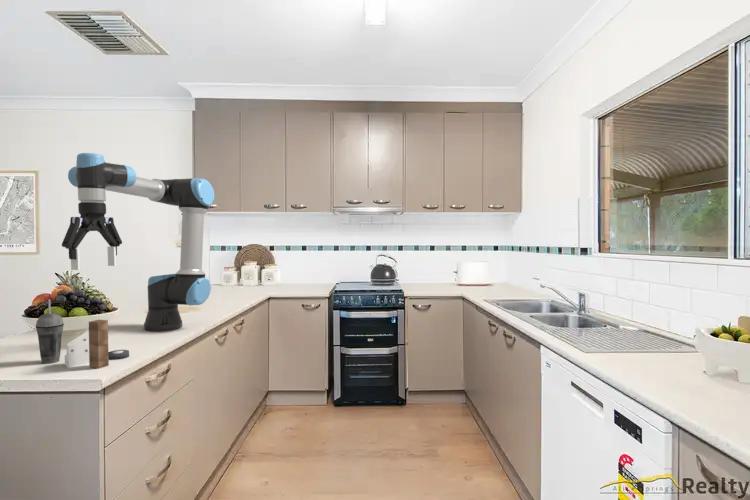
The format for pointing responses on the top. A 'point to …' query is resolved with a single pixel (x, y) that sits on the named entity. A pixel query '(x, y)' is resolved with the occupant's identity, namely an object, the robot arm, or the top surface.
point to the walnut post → (98, 344)
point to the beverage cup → (49, 336)
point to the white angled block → (78, 351)
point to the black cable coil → (118, 354)
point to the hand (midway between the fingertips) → (94, 267)
